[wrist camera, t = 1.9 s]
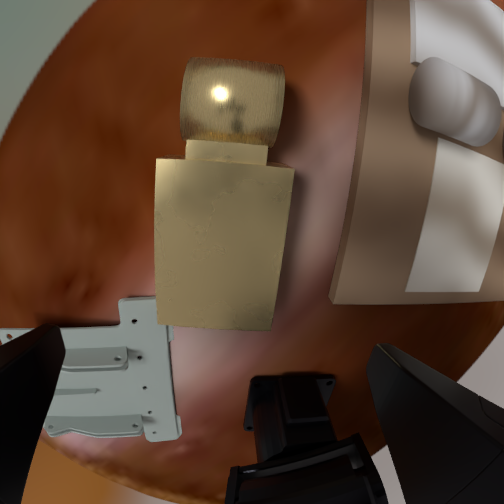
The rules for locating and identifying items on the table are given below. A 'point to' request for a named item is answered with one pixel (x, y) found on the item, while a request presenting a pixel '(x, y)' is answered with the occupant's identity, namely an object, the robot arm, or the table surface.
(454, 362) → the table surface
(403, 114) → the hinge base
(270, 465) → the robot arm
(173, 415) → the metal bracket
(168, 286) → the perfume bottle
